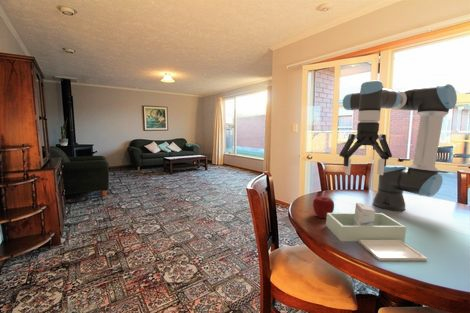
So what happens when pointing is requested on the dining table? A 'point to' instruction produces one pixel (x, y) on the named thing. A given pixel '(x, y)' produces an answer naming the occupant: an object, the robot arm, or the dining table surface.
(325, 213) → the apple
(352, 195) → the dining table surface
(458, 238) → the dining table surface
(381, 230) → the box
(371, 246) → the tray
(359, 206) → the ink box
